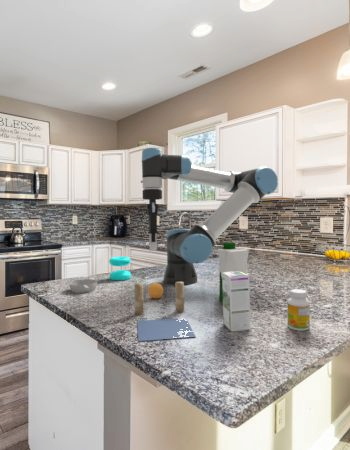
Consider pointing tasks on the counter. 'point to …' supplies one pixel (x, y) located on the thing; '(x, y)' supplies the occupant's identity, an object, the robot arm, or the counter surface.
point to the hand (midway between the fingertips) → (153, 250)
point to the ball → (155, 290)
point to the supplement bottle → (298, 310)
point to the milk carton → (231, 261)
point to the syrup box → (236, 300)
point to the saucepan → (83, 285)
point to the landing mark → (162, 329)
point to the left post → (139, 299)
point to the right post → (179, 296)
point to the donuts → (120, 273)
